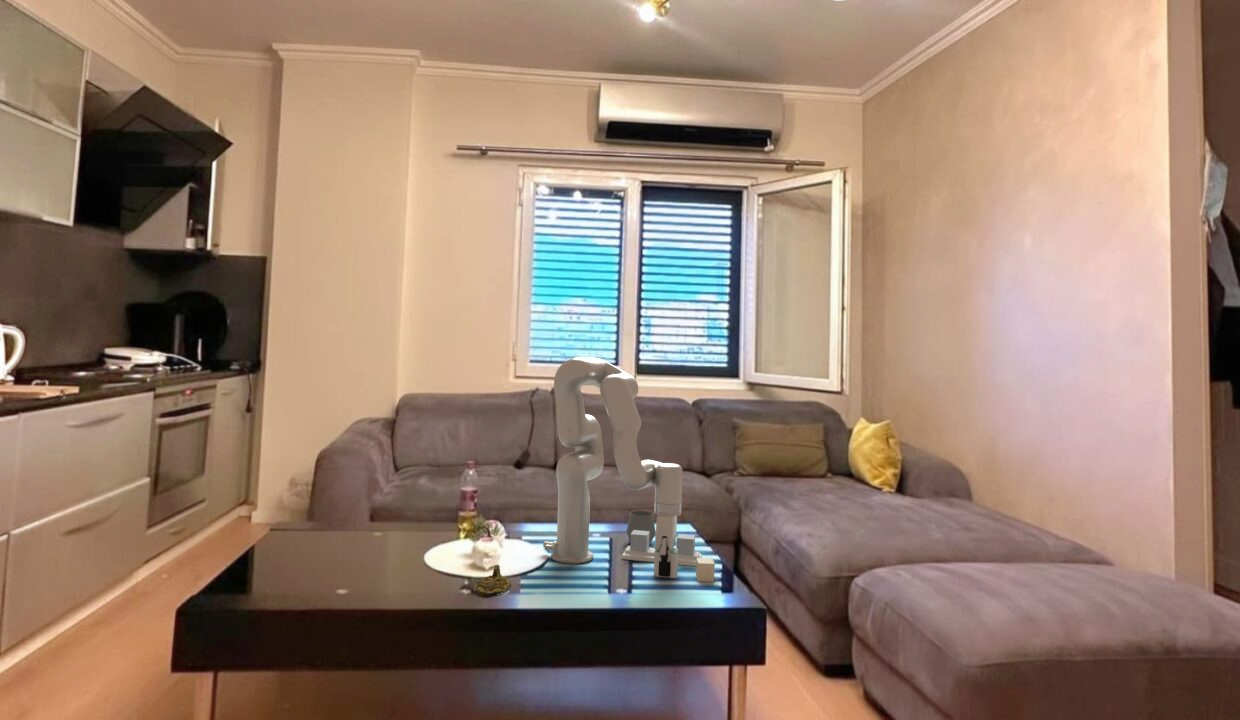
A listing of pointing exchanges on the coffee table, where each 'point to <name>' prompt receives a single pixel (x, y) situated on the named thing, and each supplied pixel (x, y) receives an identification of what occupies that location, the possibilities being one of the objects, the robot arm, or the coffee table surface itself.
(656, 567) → the module
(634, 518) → the cup
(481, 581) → the seal
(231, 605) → the coffee table surface
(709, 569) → the block
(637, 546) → the rail board
